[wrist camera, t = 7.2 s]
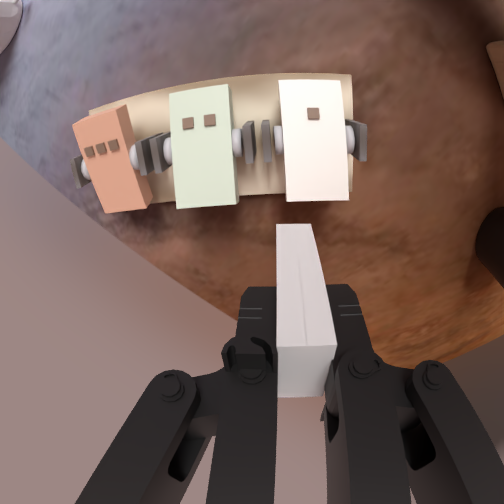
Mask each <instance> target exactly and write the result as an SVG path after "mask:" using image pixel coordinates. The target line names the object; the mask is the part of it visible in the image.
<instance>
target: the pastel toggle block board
mask: <svg viewBox="0 0 504 504" xmlns="http://www.w3.org/2000/svg"><path fill="white" fill-rule="evenodd" d="M297 79H311V80H340V83H341V91H342V100H343V109H344V119H345V126H351V127H352V128H353V132H354V138H355V145H354V151H353V153H352V154H347V161H348V186H349V192H352V174H353V156H354V157H355V158H356V159H358V160H359V161H366V160H367V125H366V124H363V123H360V122H357V121H354V120H353V101H352V81H351V75H345V74H327V73H278V74H259V75H247V76H237V77H228V78H220V79H213V80H206V81H200V82H194V83H188V84H183V85H178V86H173V87H169V88H164V89H160V90H156V91H152V92H148V93H144V94H140V95H136V96H133V97H129V98H126V99H122V100H119V101H116V102H113V103H110V104H107V105H104V106H101V107H98V108H95V109H92V110H90V111H89V116H91V115H93V114H96V113H99V112H102V111H105V110H108V109H111V108H115V107H118V106H121V105H124V104H126V105H127V109H128V113H129V117H130V121H131V125H132V128H133V132H134V136H135V139H136V142H135V148H136V153H137V159H138V164H139V169H140V173H141V176H144V175H146V176H147V180H148V183H149V186H150V189H151V192H152V195H153V198H152V200H151V202H150V203H149V204H151V203H160V202H169V201H176V197H175V187H174V175H173V164H172V165H169V164H168V163H167V162H166V160H165V157H164V151H163V146H164V141H165V139H166V138H170V137H171V132H170V108H169V94H170V93H175V92H180V91H185V90H190V89H196V88H202V87H209V86H216V85H223V84H228V85H229V87H230V88H231V90H232V103H233V118H234V129H238V128H240V129H241V131H242V138H243V157H236V163H237V177H238V191H239V196H240V195H257V194H277V193H286V190H285V172H284V156H283V154H279V155H276V152H275V137H274V126H281V114H280V102H279V91H278V80H297ZM82 160H83V156H82V155H79V156H77V157H75V158H73V159H71V160H70V163H71V168H72V172H73V176H74V180H75V183H76V187H77V188H81V187H83V186H84V185H86V184H88V183H89V182H91V181H92V180H87V179H86V178H85V177H84V176H83V174H82V171H81V164H82Z"/></svg>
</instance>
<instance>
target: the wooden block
mask: <svg viewBox="0 0 504 504" xmlns="http://www.w3.org/2000/svg"><path fill="white" fill-rule="evenodd" d="M486 49H487V53H488V55H489V58H490V60H491V63H492V65H493V68H494V71H495V74H496V77H497V80H498V83H499V86H500V89H501V92H502V96H503V99H504V40H502V41H495V42H490V43H489V44H488V45H487V46H486Z"/></svg>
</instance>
